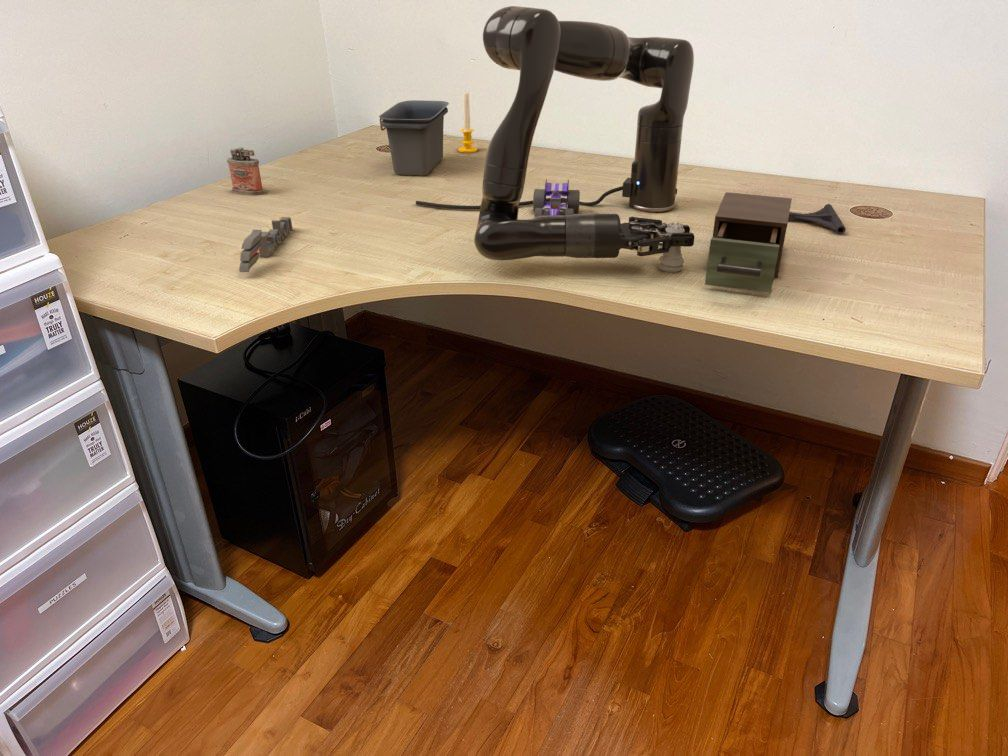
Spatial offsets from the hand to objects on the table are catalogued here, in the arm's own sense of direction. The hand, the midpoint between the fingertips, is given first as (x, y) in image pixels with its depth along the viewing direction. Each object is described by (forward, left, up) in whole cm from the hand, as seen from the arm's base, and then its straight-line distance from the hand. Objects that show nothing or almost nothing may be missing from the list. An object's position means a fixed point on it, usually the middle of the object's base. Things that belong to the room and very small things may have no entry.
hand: (690, 235), depth 131 cm
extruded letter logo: (-75, -18, -6) cm, 77 cm away
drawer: (+9, -4, -5) cm, 11 cm away
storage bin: (-76, +45, -6) cm, 88 cm away
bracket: (+17, +33, -6) cm, 38 cm away
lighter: (-103, +13, -6) cm, 104 cm away
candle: (-70, +65, -6) cm, 95 cm away
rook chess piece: (-3, -1, -6) cm, 7 cm away
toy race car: (-30, +17, -6) cm, 35 cm away
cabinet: (+9, +8, -6) cm, 14 cm away
